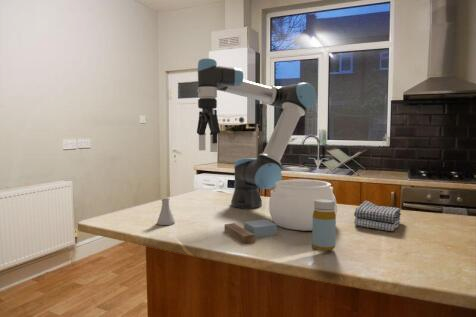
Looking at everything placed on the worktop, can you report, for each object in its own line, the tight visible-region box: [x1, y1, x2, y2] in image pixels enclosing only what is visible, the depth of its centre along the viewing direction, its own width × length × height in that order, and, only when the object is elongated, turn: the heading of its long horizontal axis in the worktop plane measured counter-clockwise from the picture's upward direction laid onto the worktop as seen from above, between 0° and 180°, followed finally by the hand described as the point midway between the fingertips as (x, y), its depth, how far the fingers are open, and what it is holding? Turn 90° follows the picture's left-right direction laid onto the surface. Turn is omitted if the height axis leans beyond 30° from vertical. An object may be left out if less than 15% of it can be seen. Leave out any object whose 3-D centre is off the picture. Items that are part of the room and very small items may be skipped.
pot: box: [268, 178, 338, 232], centre depth 133 cm, size 29×26×16 cm
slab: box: [243, 219, 278, 239], centre depth 120 cm, size 4×8×9 cm
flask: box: [156, 197, 176, 226], centre depth 133 cm, size 7×7×10 cm
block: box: [224, 222, 256, 244], centre depth 116 cm, size 4×16×2 cm, turn 26°
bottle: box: [311, 199, 337, 252], centre depth 104 cm, size 7×7×15 cm
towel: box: [353, 200, 402, 232], centre depth 132 cm, size 15×18×8 cm
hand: (207, 151), depth 136 cm, fingers open, 13 cm apart
